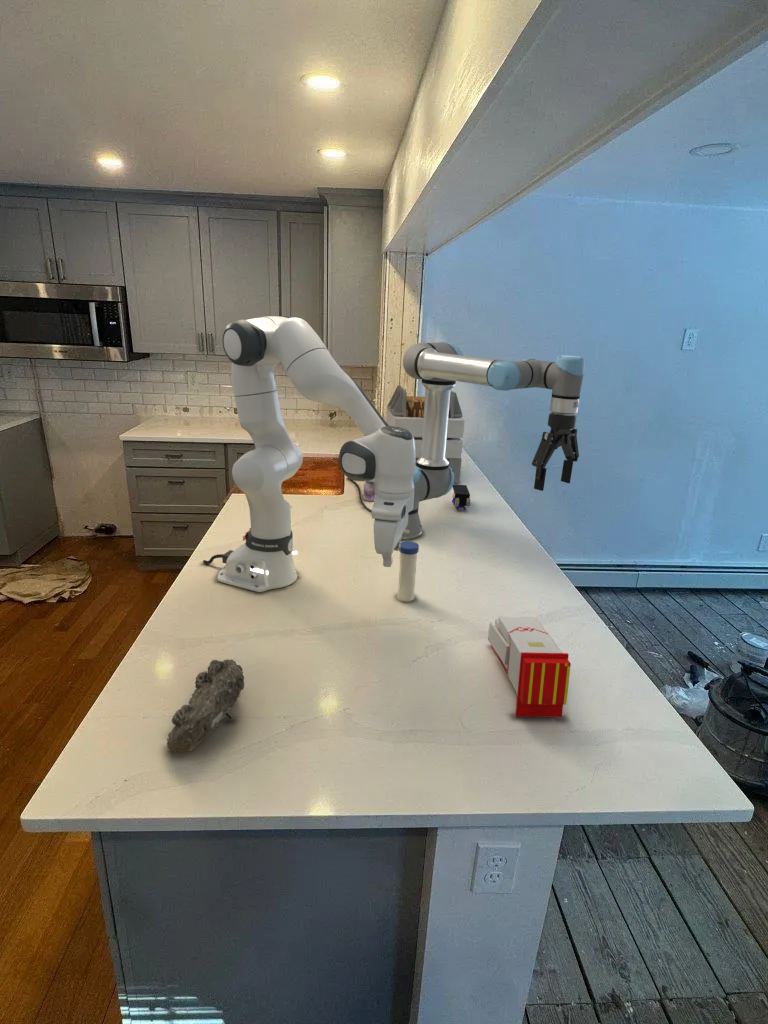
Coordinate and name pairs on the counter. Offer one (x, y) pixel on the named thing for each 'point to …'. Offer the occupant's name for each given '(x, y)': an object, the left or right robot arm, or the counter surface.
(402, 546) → the lid
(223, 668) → the fossil
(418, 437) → the grey slatted crate
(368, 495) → the figurine
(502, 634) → the toy
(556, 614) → the counter surface
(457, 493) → the figurine character
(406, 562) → the bottle
